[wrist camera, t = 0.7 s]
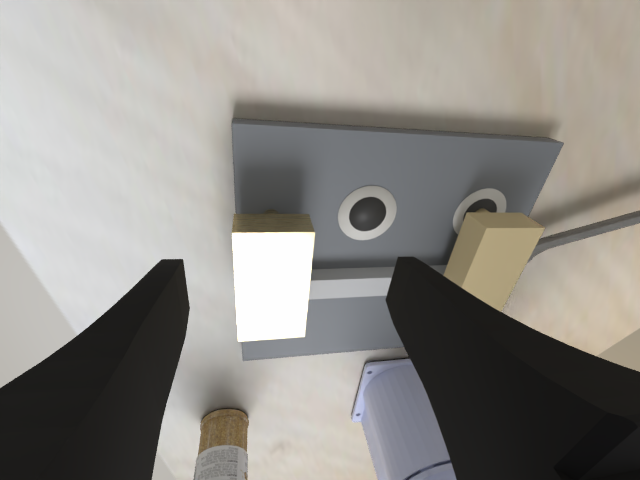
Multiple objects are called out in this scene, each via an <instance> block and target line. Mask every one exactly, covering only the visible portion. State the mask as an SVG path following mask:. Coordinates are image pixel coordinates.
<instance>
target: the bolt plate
mask: <svg viewBox="0 0 640 480" xmlns="http://www.w3.org/2000/svg"><path fill="white" fill-rule="evenodd" d="M232 143H233V164H234V185H235V207H236V214H263V213H264V212H265V211H266V210H268V209H274V210H276V211H278V213H279V214H309V216H310V219H311V222H312V225H313V228H314V231H315V237H314V247H313V257H312V267H311V277H310V287H309V297H308V307H307V317H306V327H305V337H294V338H281V339H267V340H254V341H242V356H243V361H249V360H260V359H272V358H283V357H295V356H306V355H318V354H329V353H341V352H352V351H364V350H375V349H387V348H398V347H404V345H403V343H402V341H401V339H400V337H399V335H398V333H397V331H396V329H395V327H394V325H393V322H392V319H391V316H390V313H389V310H388V307H387V303H386V296H387V293H388V289H389V286H390V282H391V279H392V275H393V272H394V268H395V265H396V261H397V258H398V257H412V256H413V257H415V258H417V259H419V260H421V261H422V262H424V263H425V264H427V265H428V266H430V267H431V268H433V269H434V270H436V271H437V272H439V273H440V274H442V275H443V276H445V277H446V278H448V279H449V280H451V281H452V282H454V283H455V284H457V285H458V286H460V287H461V288H463V289H464V290H466V291H467V292H469V293H470V294H472V295H474V296H475V297H477V298H478V299H480V300H482V301H483V302H485V303H487V304H488V305H490V306H492V307H493V308H495V309H497V310H498V311H500V312H501V311H502V309H503V307H504V305H505V303H506V301H507V299H508V297H509V296H510V294H511V292H512V290H513V288H514V286H515V284H516V282H517V280H518V279H519V277H520V275H521V273H522V271H523V269H524V267H525V265H526V263H527V262H528V260H529V258H530V256H531V254H532V252H533V250H534V248H535V246H536V244H537V243H538V241H539V239H540V237H541V235H542V233H543V231H544V229H545V227H543V226H542V225H540V224H538V223H537V222H535V221H534V220H532V219H531V218H529V217H528V216H529V214H530V212H531V210H532V208H533V206H534V204H535V202H536V200H537V198H538V196H539V194H540V191H541V189H542V187H543V185H544V183H545V181H546V179H547V177H548V175H549V173H550V171H551V169H552V167H553V165H554V163H555V161H556V159H557V156H558V154H559V152H560V150H561V148H562V146H563V144H564V143H563V142H560V141H557V140H554V139H551V138H541V137H525V136H508V135H492V134H476V133H460V132H444V131H427V130H411V129H395V128H379V127H363V126H347V125H330V124H314V123H298V122H282V121H266V120H249V119H233V120H232Z"/></svg>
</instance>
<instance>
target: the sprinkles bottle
mask: <svg viewBox="0 0 640 480" xmlns="http://www.w3.org/2000/svg"><path fill="white" fill-rule="evenodd" d="M248 425H249V420H248V417H247V415H246V414H244V413H243V412H242V411H239V410H234V409H222V410H217V411H214V412H211V413H210V414H208V415H207V416H205V417H204V419H203V420H202V421H201V425H200V430H201V436H200V444H199V452H198V457H197V460H196V466H195V473H194V480H247V473H248V454H247V428H248Z"/></svg>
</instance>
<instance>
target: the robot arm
mask: <svg viewBox="0 0 640 480" xmlns="http://www.w3.org/2000/svg"><path fill="white" fill-rule="evenodd" d="M386 303H387V307H388V310H389V313H390V316H391V319H392V322H393V325H394V327H395V329H396V331H397V333H398V335H399V337H400V339H401V341H402V343H403V345H404V347H405V349H406V351H407V353H408V355H409V357H410V359H400V360H390V361H379V362H370V363H367V364H366V365H365V367H364V370H363V374H362V378H361V382H360V386H359V390H358V394H357V398H356V401H355V405H354V409H353V413H352V417H351V419H352V421H353V422H361V423H362V426H363V430H364V433H365V437H366V440H367V444H368V447H369V451H370V454H371V458H372V461H373V465H374V468H375V472H376V475H377V479H378V480H640V372H638V371H635V370H632V369H629V368H626V367H623V366H621V365H618V364H615V363H612V362H610V361H607V360H604V359H602V358H599V357H597V356H594V355H591V354H589V353H586V352H584V351H581V350H579V349H577V348H574V347H572V346H569V345H567V344H565V343H563V342H560V341H558V340H556V339H554V338H551V337H549V336H547V335H545V334H543V333H540V332H538V331H536V330H534V329H532V328H530V327H528V326H526V325H524V324H522V323H521V322H519V321H517V320H515V319H513V318H511V317H509V316H507V315H505V314H504V313H502V312H500V311H498V310H497V309H495V308H493V307H492V306H490V305H488V304H487V303H485V302H483V301H482V300H480V299H478V298H477V297H475V296H474V295H472V294H470V293H469V292H467V291H466V290H464V289H463V288H461V287H460V286H458V285H457V284H455V283H454V282H452V281H451V280H449V279H448V278H446V277H445V276H443V275H442V274H440V273H439V272H437V271H436V270H434V269H433V268H431V267H430V266H428V265H427V264H425V263H424V262H422V261H421V260H419V259H417V258H415V257H413V256H412V257H398V258H397V261H396V265H395V268H394V272H393V275H392V279H391V282H390V286H389V289H388V293H387V296H386ZM189 309H190V307H189V300H188V293H187V285H186V278H185V271H184V263H183V259H163V260H161V261H160V262H159V263H157V264H156V265H155V266H154V267H153V268H152V269H151V270H150V271H149V272H148V273H147V274H146V275H145V276H144V277H143V278H142V279H141V280H140V281H139V282H138V283H137V284H136V285H135V286H134V287H133V288H132V289H131V290H130V291H129V292H128V293H126V294H125V295H124V296H123V297H122V298H121V299H120V300H119V301H118V302H117V303H116V304H115V305H114V306H112V307H111V308H110V309H109V310H108V311H107V312H105V313H104V314H103V315H102V316H101V317H100V318H98V319H97V320H96V321H95V322H94V323H93V324H91V325H90V326H89V327H88V328H87V329H85V330H84V331H83V332H82V333H80V334H79V335H78V336H76V337H75V338H74V339H72V340H71V341H70V342H68V343H67V344H66V345H64V346H63V347H62V348H60V349H59V350H57V351H56V352H55V353H53V354H52V355H50V356H49V357H48V358H46V359H45V360H43V361H42V362H41V363H39V364H37V365H36V366H34V367H32V368H31V369H29V370H28V371H26V372H25V373H23V374H22V375H20V376H19V377H17V378H15V379H14V380H13V381H11V382H9V383H8V384H6V385H5V386H3V387H2V388H0V480H152V473H153V468H154V462H155V456H156V451H157V446H158V440H159V435H160V429H161V424H162V419H163V415H164V411H165V407H166V403H167V400H168V396H169V393H170V390H171V386H172V383H173V379H174V376H175V372H176V369H177V365H178V362H179V358H180V355H181V351H182V347H183V344H184V340H185V336H186V330H187V323H188V316H189Z"/></svg>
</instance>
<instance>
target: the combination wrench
mask: <svg viewBox="0 0 640 480" xmlns="http://www.w3.org/2000/svg"><path fill="white" fill-rule="evenodd" d="M638 223H640V211H636V212H632V213H629V214H625V215H622V216H618V217H615V218H611V219H607V220H604V221H600V222H597V223H593V224H590V225H586V226H582V227H579V228H575V229H572V230H568V231H565V232H561V233H557V234H554V235H550V236H548V237H544V238H541V239H539V241H538V243H537V244H536V246H535V248H534V250H533V252H532V254H531V256H530V258H529V260H528V262H529V261H531V260H532V258H533V257H534V256H536V255H537V254H539V253H541V252H543V251H545V250H547V249H549V248H553V247H556V246H560V245H563V244H567V243H571V242H574V241H578V240H581V239H585V238H588V237H592V236H595V235H599V234H602V233H606V232H610V231H613V230H617V229H620V228H624V227H628V226H631V225H635V224H638ZM528 262H527V263H528Z"/></svg>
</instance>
